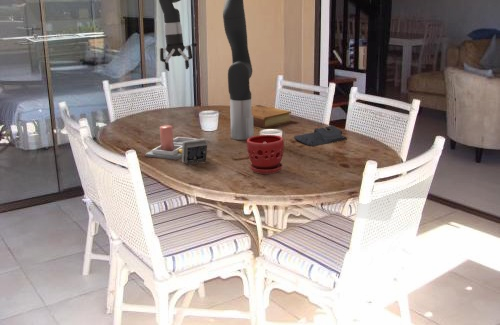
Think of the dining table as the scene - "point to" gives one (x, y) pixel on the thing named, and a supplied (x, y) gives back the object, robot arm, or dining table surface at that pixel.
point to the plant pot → (265, 153)
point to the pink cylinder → (166, 138)
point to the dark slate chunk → (321, 136)
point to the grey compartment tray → (170, 154)
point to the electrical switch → (194, 151)
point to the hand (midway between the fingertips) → (177, 69)
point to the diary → (269, 116)
